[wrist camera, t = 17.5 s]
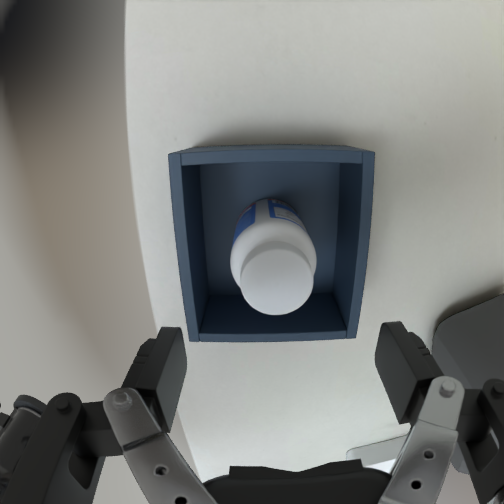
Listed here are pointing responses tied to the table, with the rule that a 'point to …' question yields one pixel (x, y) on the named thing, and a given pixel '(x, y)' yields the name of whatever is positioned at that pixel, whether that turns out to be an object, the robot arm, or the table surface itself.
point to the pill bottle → (273, 257)
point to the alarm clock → (472, 351)
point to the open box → (311, 214)
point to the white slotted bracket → (378, 454)
